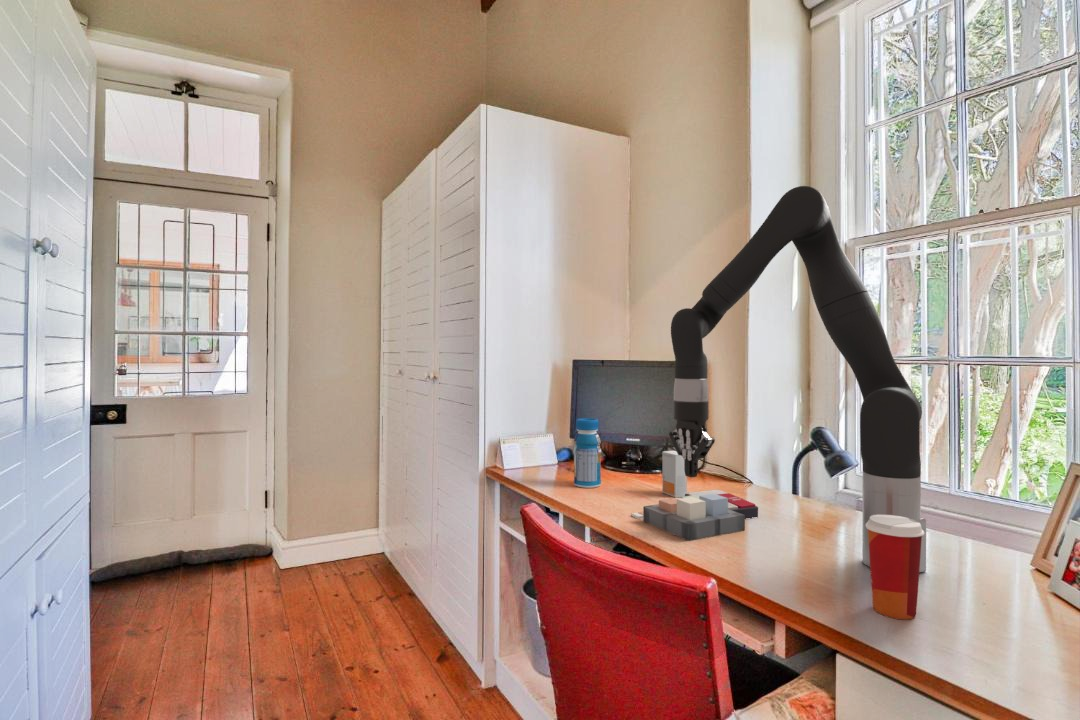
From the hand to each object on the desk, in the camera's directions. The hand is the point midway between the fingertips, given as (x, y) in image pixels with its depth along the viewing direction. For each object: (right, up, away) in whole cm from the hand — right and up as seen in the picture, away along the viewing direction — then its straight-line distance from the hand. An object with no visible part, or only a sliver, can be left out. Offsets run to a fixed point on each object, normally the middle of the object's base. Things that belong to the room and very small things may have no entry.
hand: (690, 476), depth 127 cm
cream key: (0, -9, 0) cm, 9 cm away
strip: (-3, -12, +15) cm, 19 cm away
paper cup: (+21, -13, -40) cm, 47 cm away
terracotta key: (-3, -11, +6) cm, 13 cm away
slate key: (+6, -9, +3) cm, 11 cm away
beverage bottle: (-19, -12, +45) cm, 51 cm away
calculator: (+12, -13, +16) cm, 24 cm away
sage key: (+3, -11, +9) cm, 14 cm away
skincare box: (+4, -12, +33) cm, 36 cm away
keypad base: (+2, -12, +4) cm, 13 cm away
